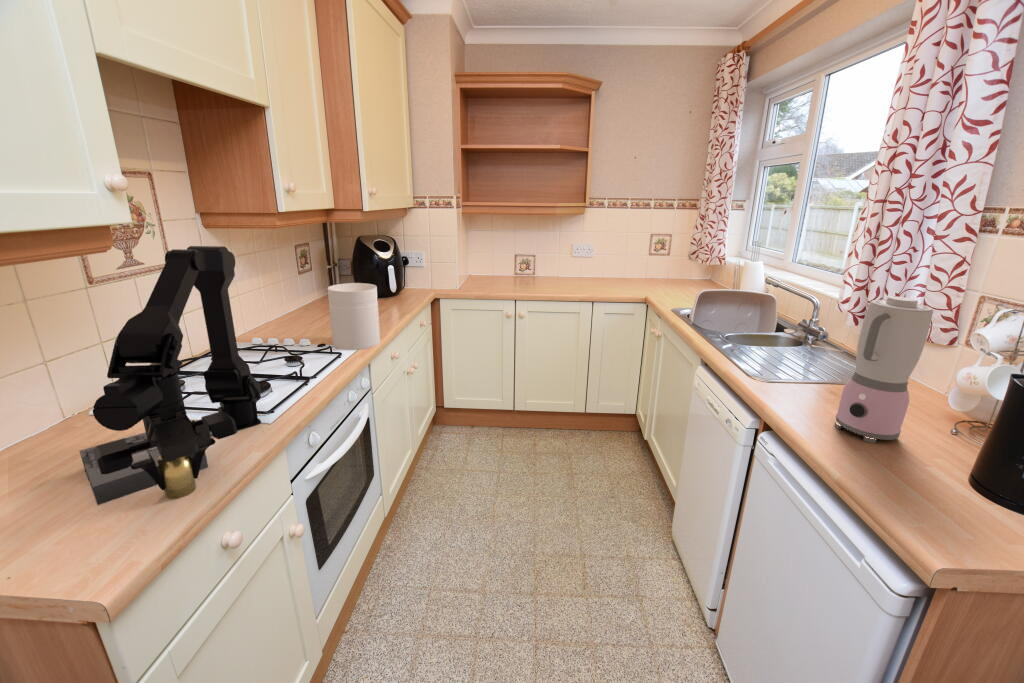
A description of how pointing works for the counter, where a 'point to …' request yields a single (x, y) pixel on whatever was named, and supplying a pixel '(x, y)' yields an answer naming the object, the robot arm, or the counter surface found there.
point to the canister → (354, 315)
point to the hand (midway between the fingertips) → (179, 483)
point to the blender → (884, 368)
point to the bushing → (177, 477)
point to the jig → (120, 475)
